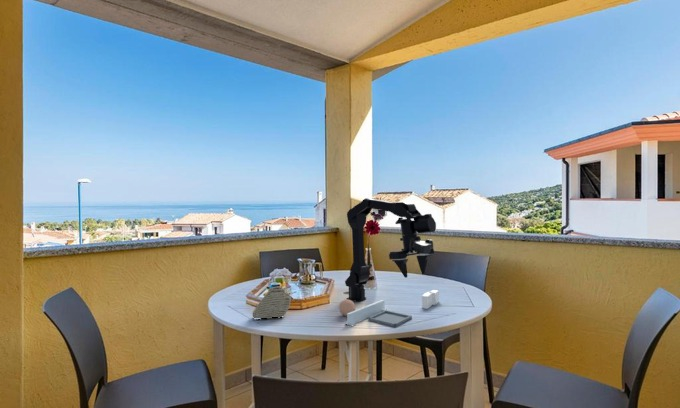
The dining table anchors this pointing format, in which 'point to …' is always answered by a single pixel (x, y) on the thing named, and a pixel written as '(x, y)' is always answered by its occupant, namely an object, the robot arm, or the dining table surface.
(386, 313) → the coaster
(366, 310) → the acrylic wall
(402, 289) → the dining table surface
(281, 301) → the fossil tooth
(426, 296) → the napkin holder
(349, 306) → the ball
